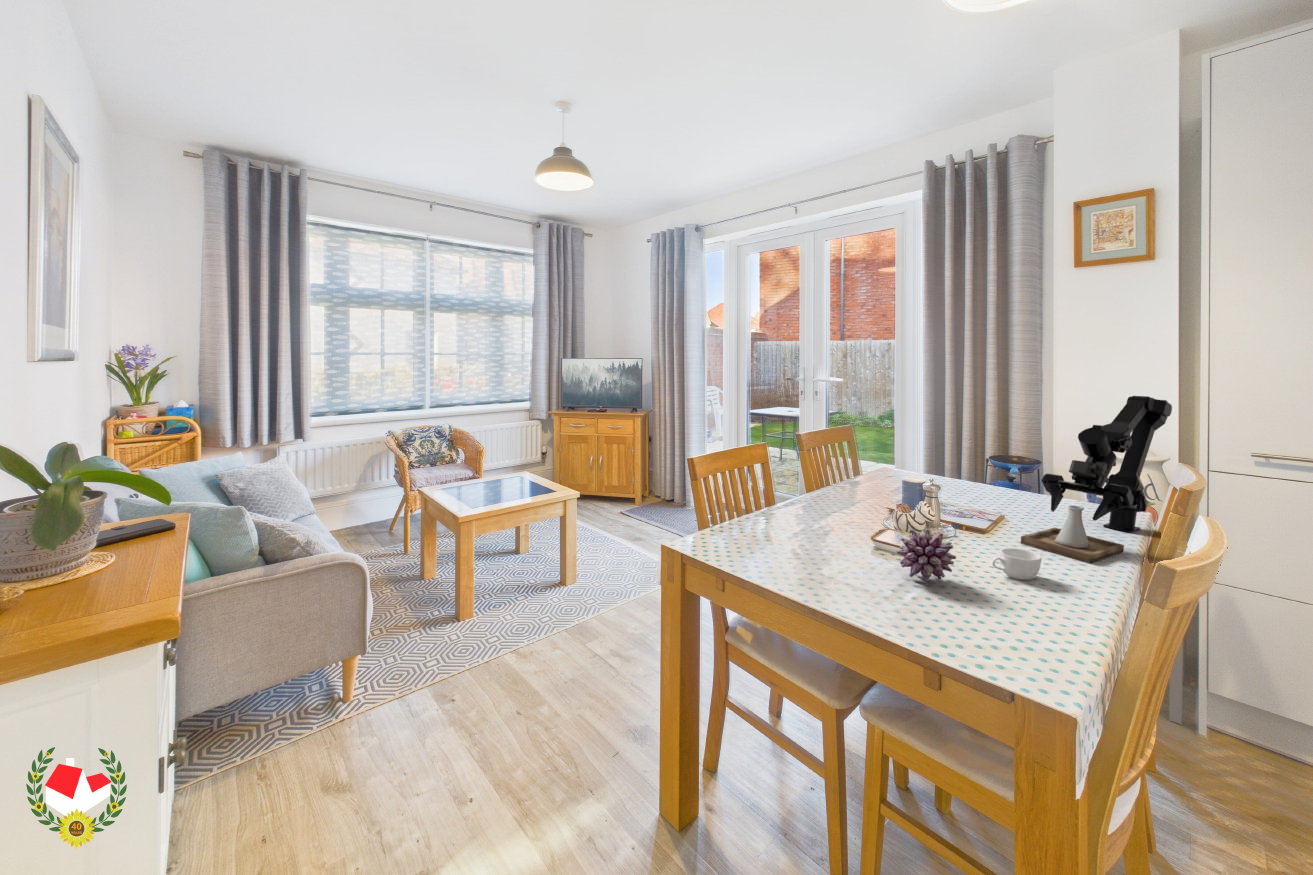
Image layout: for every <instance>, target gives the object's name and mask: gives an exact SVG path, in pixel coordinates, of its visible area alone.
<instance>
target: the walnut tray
mask: <svg viewBox="0 0 1313 875" xmlns="http://www.w3.org/2000/svg"><path fill="white" fill-rule="evenodd" d="M1061 529H1062V528H1058V527H1052V528H1048V529H1044V530H1041V531H1036V532H1033V533H1032V532H1031V533H1029V534H1025V535H1021V536H1020V544H1021V545H1025V546H1029V547H1032V548H1035V549H1038V550H1042V551H1045V552H1049V553H1052V554H1055V555H1059V556H1063V557H1066V558H1069V559H1073V560H1075V561H1076V560H1077V561H1080V562H1083V563H1086V564H1093V563H1096V562H1098V561H1099V562H1100V561H1101V560H1106V559H1108V558H1111V557H1110V556H1112V557H1114V556H1113V555H1115V556H1117V555H1116V554H1118V555H1120V554H1119V553H1121V554H1123V553H1124V550H1125V545H1124V544H1121V543H1117V542H1114V541H1109V540H1105V539H1103V538H1102V539H1101V538H1099V537H1093V536H1089V535H1087V538H1088V541H1089V544H1090V545H1089V546H1088V547H1087V548H1075V547H1070V546H1065V545H1062V544H1059V543H1057V542H1054V541H1055V539H1056V537H1057V536H1058V534H1059V533H1060V531H1061ZM1122 552H1123V553H1122ZM1107 557H1108V558H1107Z"/></svg>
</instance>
